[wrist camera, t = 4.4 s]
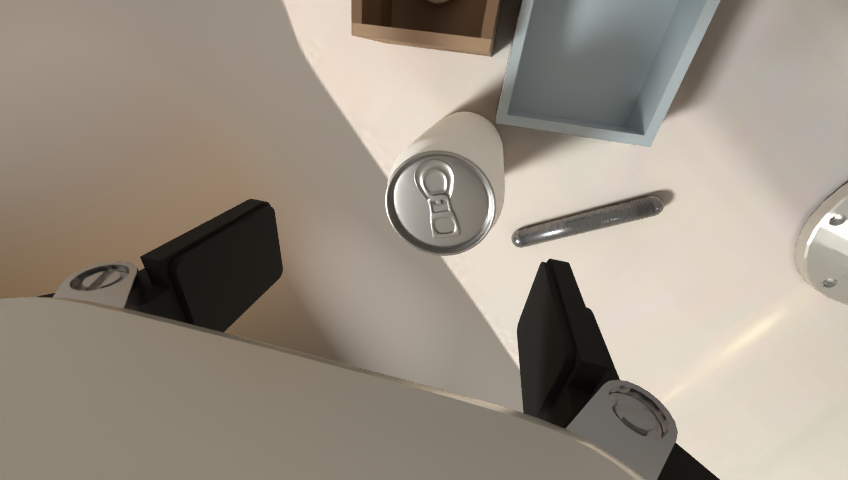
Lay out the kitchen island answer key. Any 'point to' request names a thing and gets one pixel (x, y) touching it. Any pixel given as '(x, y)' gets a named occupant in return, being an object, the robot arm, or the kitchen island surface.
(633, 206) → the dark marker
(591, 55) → the light blue tray
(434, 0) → the cream ball
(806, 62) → the kitchen island surface
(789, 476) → the kitchen island surface
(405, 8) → the walnut box
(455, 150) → the can
